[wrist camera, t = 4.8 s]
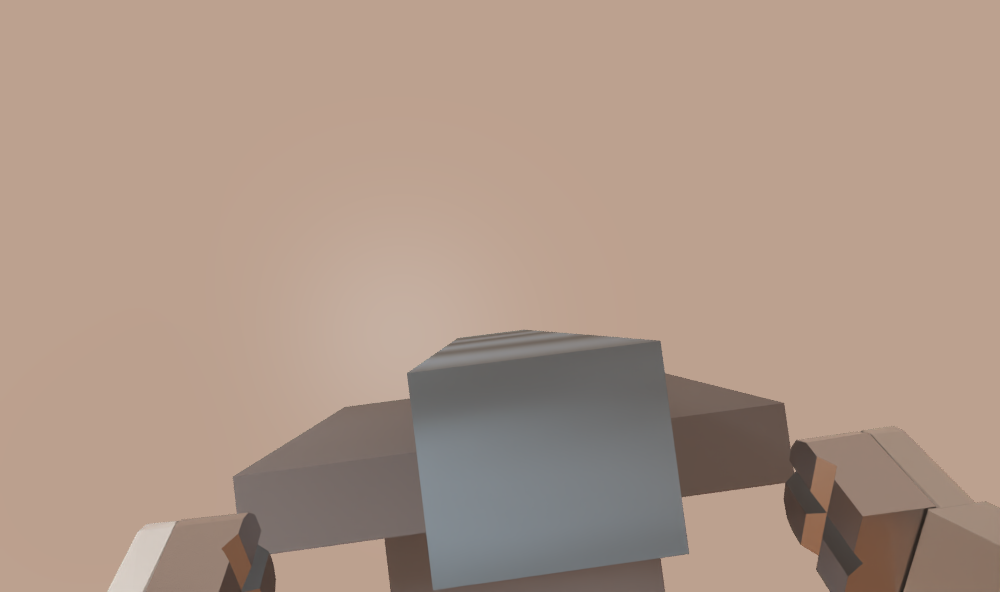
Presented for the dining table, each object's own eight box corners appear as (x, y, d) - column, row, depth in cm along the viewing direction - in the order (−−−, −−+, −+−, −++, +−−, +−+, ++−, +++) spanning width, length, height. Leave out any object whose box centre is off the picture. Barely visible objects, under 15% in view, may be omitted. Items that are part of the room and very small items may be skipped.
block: (688, 553, 8) (660, 340, 8) (433, 590, 8) (407, 373, 8) (530, 385, 30) (523, 329, 30) (464, 393, 30) (457, 338, 30)
